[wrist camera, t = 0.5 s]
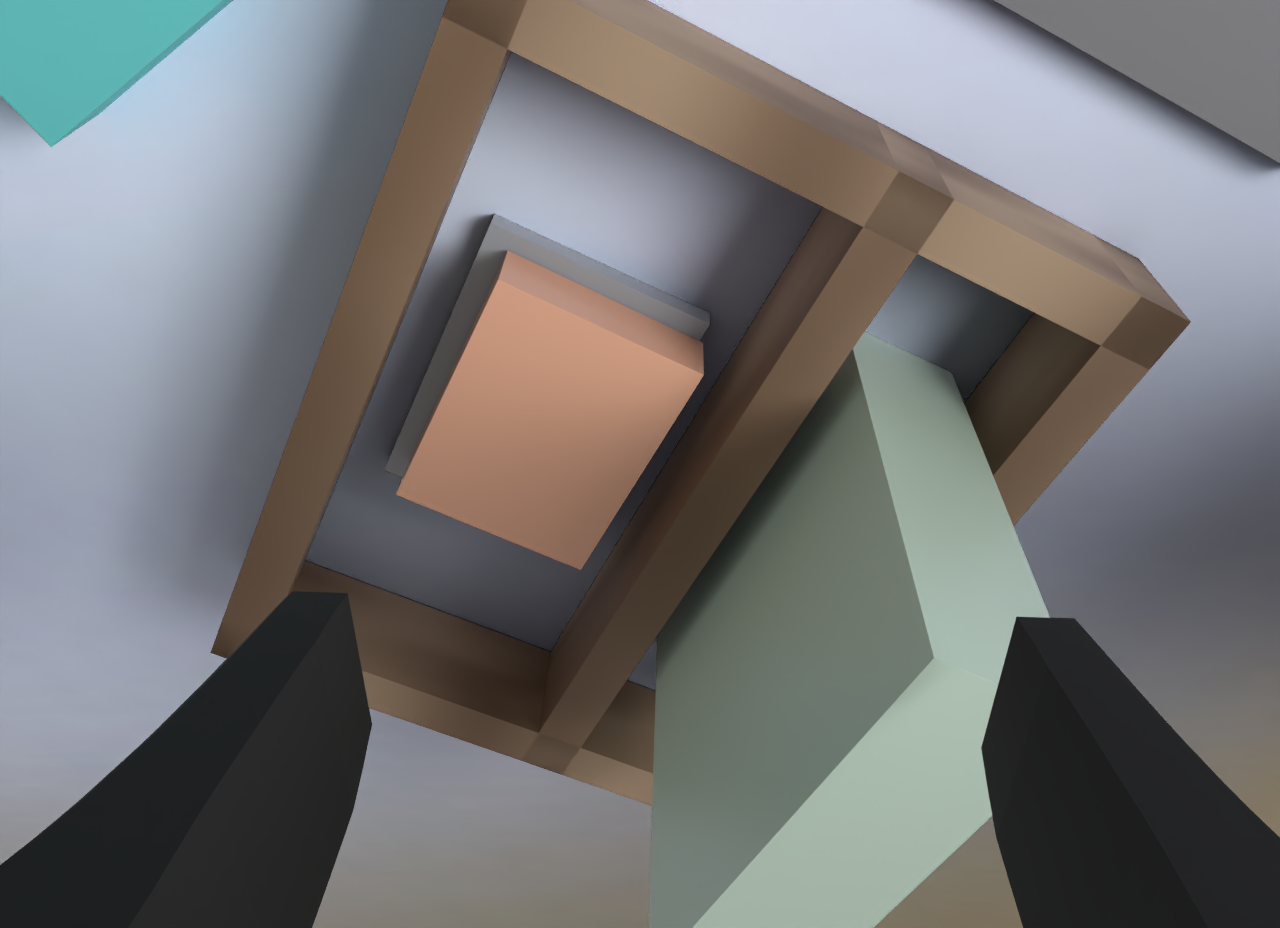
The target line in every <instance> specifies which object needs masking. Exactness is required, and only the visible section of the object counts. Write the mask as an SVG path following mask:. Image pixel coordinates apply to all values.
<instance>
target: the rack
mask: <svg viewBox="0 0 1280 928" xmlns="http://www.w3.org/2000/svg"><path fill="white" fill-rule="evenodd" d="M511 51H512V52H514V53H516V54H518V55H520V56H522V57H524V58H526V59H528V60H530V61H532V62H534V63H536V64H538V65H540V66H542V67H544V68H546V69H548V70H550V71H552V72H554V73H556V74H558V75H560V76H562V77H564V78H566V79H568V80H570V81H572V82H574V83H576V84H578V85H580V86H582V87H584V88H586V89H588V90H590V91H592V92H594V93H596V94H598V95H600V96H602V97H604V98H606V99H608V100H610V101H612V102H614V103H616V104H618V105H620V106H622V107H624V108H626V109H628V110H630V111H632V112H634V113H636V114H638V115H640V116H642V117H644V118H646V119H648V120H650V121H652V122H654V123H656V124H658V125H660V126H662V127H664V128H666V129H668V130H670V131H672V132H674V133H676V134H678V135H680V136H682V137H684V138H686V139H688V140H690V141H692V142H694V143H696V144H698V145H700V146H702V147H704V148H706V149H708V150H710V151H712V152H714V153H716V154H718V155H720V156H722V157H724V158H726V159H728V160H730V161H732V162H734V163H736V164H738V165H740V166H742V167H744V168H746V169H748V170H750V171H752V172H754V173H756V174H758V175H760V176H762V177H764V178H766V179H768V180H770V181H772V182H774V183H776V184H778V185H780V186H782V187H784V188H786V189H788V190H790V191H792V192H794V193H796V194H798V195H800V196H802V197H804V198H806V199H808V200H810V201H812V202H814V203H816V204H818V205H820V206H822V209H821V211H820V212H819V214H818V216H817V217H816V219H815V220H814V222H813V224H812V225H811V227H810V229H809V230H808V232H807V234H806V235H805V237H804V238H803V240H802V242H801V243H800V245H799V247H798V248H797V250H796V252H795V253H794V255H793V256H792V258H791V260H790V261H789V263H788V265H787V266H786V268H785V269H784V271H783V273H782V274H781V276H780V278H779V279H778V281H777V283H776V284H775V286H774V287H773V289H772V291H771V292H770V294H769V296H768V297H767V299H766V301H765V302H764V304H763V305H762V307H761V309H760V310H759V312H758V314H757V315H756V317H755V319H754V320H753V322H752V323H751V325H750V327H749V328H748V330H747V332H746V333H745V335H744V336H743V338H742V340H741V341H740V343H739V345H738V346H737V348H736V350H735V351H734V353H733V354H732V356H731V358H730V359H729V361H728V363H727V364H726V366H725V368H724V369H723V371H722V372H721V374H720V376H719V377H718V379H717V381H716V382H715V384H714V386H713V387H712V389H711V390H710V392H709V394H708V395H707V397H706V399H705V400H704V402H703V403H702V405H701V407H700V408H699V410H698V412H697V413H696V415H695V417H694V418H693V420H692V421H691V423H690V425H689V426H688V428H687V430H686V431H685V433H684V435H683V436H682V438H681V439H680V441H679V443H678V444H677V446H676V448H675V449H674V451H673V453H672V454H671V456H670V457H669V459H668V461H667V462H666V464H665V466H664V467H663V469H662V470H661V472H660V474H659V475H658V477H657V479H656V480H655V482H654V484H653V485H652V487H651V488H650V490H649V492H648V493H647V495H646V497H645V498H644V500H643V502H642V503H641V505H640V506H639V508H638V510H637V511H636V513H635V515H634V516H633V518H632V520H631V521H630V523H629V524H628V526H627V528H626V529H625V531H624V533H623V534H622V536H621V537H620V539H619V541H618V542H617V544H616V546H615V547H614V549H613V551H612V552H611V554H610V555H609V557H608V559H607V560H606V562H605V564H604V565H603V567H602V569H601V570H600V572H599V573H598V575H597V577H596V578H595V580H594V582H593V583H592V585H591V587H590V588H589V590H588V591H587V593H586V595H585V596H584V598H583V600H582V601H581V603H580V604H579V606H578V608H577V609H576V611H575V613H574V614H573V616H572V618H571V619H570V621H569V622H568V624H567V626H566V627H565V629H564V631H563V632H562V634H561V636H560V637H559V639H558V640H557V642H556V644H555V645H554V647H553V649H552V650H551V652H549V651H546V650H543V649H541V648H538V647H535V646H533V645H530V644H527V643H525V642H522V641H519V640H517V639H514V638H511V637H509V636H506V635H503V634H500V633H498V632H495V631H492V630H490V629H487V628H484V627H482V626H479V625H476V624H474V623H471V622H468V621H466V620H463V619H460V618H457V617H455V616H452V615H449V614H447V613H444V612H441V611H439V610H436V609H433V608H431V607H428V606H425V605H423V604H420V603H417V602H415V601H412V600H409V599H406V598H404V597H401V596H398V595H396V594H393V593H390V592H388V591H385V590H382V589H380V588H377V587H374V586H372V585H369V584H366V583H364V582H361V581H358V580H355V579H353V578H350V577H347V576H345V575H342V574H339V573H337V572H334V571H331V570H329V569H326V568H323V567H321V566H318V565H315V564H313V563H310V562H307V561H305V559H306V557H307V554H308V552H309V549H310V547H311V544H312V542H313V539H314V537H315V534H316V532H317V529H318V527H319V524H320V522H321V520H322V517H323V515H324V512H325V510H326V507H327V505H328V502H329V500H330V497H331V495H332V492H333V490H334V487H335V485H336V483H337V480H338V478H339V475H340V473H341V470H342V468H343V465H344V463H345V460H346V458H347V455H348V453H349V451H350V448H351V446H352V443H353V441H354V438H355V436H356V433H357V431H358V428H359V426H360V423H361V421H362V418H363V416H364V414H365V411H366V409H367V406H368V404H369V401H370V399H371V396H372V394H373V391H374V389H375V386H376V384H377V381H378V379H379V377H380V374H381V372H382V369H383V367H384V364H385V362H386V359H387V357H388V354H389V352H390V349H391V347H392V345H393V342H394V340H395V337H396V335H397V332H398V330H399V327H400V325H401V322H402V320H403V317H404V315H405V312H406V310H407V308H408V305H409V303H410V300H411V298H412V295H413V293H414V290H415V288H416V285H417V283H418V280H419V278H420V275H421V273H422V271H423V268H424V266H425V263H426V261H427V258H428V256H429V253H430V251H431V248H432V246H433V243H434V241H435V238H436V236H437V234H438V231H439V229H440V226H441V224H442V221H443V219H444V216H445V214H446V211H447V209H448V206H449V204H450V202H451V199H452V197H453V194H454V192H455V189H456V187H457V184H458V182H459V179H460V177H461V174H462V172H463V169H464V167H465V165H466V162H467V160H468V157H469V155H470V152H471V150H472V147H473V145H474V142H475V140H476V137H477V135H478V132H479V130H480V128H481V125H482V123H483V120H484V118H485V115H486V113H487V110H488V108H489V105H490V103H491V100H492V98H493V96H494V93H495V91H496V88H497V86H498V83H499V81H500V78H501V76H502V73H503V71H504V68H505V66H506V63H507V61H508V59H509V56H510V54H511ZM917 254H918V255H920V256H922V257H924V258H926V259H928V260H930V261H932V262H934V263H936V264H938V265H940V266H942V267H944V268H946V269H948V270H950V271H952V272H954V273H956V274H958V275H960V276H962V277H964V278H966V279H968V280H970V281H972V282H974V283H976V284H978V285H980V286H982V287H984V288H986V289H988V290H990V291H992V292H994V293H996V294H998V295H1000V296H1002V297H1004V298H1006V299H1008V300H1010V301H1012V302H1014V303H1016V304H1018V305H1020V306H1022V307H1024V308H1026V309H1028V310H1030V311H1032V312H1034V314H1033V315H1032V316H1031V318H1030V319H1029V320H1028V322H1027V323H1026V324H1025V326H1024V327H1023V328H1022V329H1021V331H1020V332H1019V333H1018V335H1017V336H1016V337H1015V338H1014V340H1013V341H1012V342H1011V344H1010V345H1009V346H1008V348H1007V349H1006V350H1005V351H1004V353H1003V354H1002V355H1001V357H1000V358H999V359H998V360H997V362H996V363H995V364H994V366H993V367H992V368H991V369H990V371H989V372H988V373H987V375H986V376H985V377H984V379H983V380H982V381H981V382H980V384H979V385H978V386H977V388H976V389H975V390H974V391H973V393H972V394H971V395H970V397H969V398H968V399H967V401H966V402H965V403H964V405H965V407H966V410H967V412H968V415H969V417H970V420H971V422H972V425H973V427H974V430H975V432H976V435H977V437H978V440H979V442H980V444H981V447H982V449H983V452H984V454H985V457H986V459H987V462H988V464H989V467H990V469H991V472H992V474H993V477H994V479H995V482H996V484H997V487H998V489H999V492H1000V494H1001V497H1002V499H1003V502H1004V504H1005V507H1006V509H1007V512H1008V514H1009V517H1010V519H1011V522H1012V524H1013V526H1014V525H1015V524H1016V522H1017V521H1018V520H1019V519H1020V518H1021V517H1022V515H1023V514H1024V513H1025V512H1026V511H1027V510H1028V509H1029V507H1030V506H1031V505H1032V504H1033V503H1034V502H1035V501H1036V499H1037V498H1038V497H1039V496H1040V495H1041V494H1042V492H1043V491H1044V490H1045V489H1046V488H1047V487H1048V486H1049V484H1050V483H1051V482H1052V481H1053V480H1054V479H1055V478H1056V476H1057V475H1058V474H1059V473H1060V472H1061V471H1062V469H1063V468H1064V467H1065V466H1066V465H1067V464H1068V463H1069V461H1070V460H1071V459H1072V458H1073V457H1074V456H1075V455H1076V453H1077V452H1078V451H1079V450H1080V449H1081V448H1082V446H1083V445H1084V444H1085V443H1086V442H1087V441H1088V440H1089V438H1090V437H1091V436H1092V435H1093V434H1094V433H1095V432H1096V430H1097V429H1098V428H1099V427H1100V426H1101V425H1102V423H1103V422H1104V421H1105V420H1106V419H1107V418H1108V417H1109V415H1110V414H1111V413H1112V412H1113V411H1114V410H1115V409H1116V407H1117V406H1118V405H1119V404H1120V403H1121V402H1122V401H1123V399H1124V398H1125V397H1126V396H1127V395H1128V394H1129V392H1130V391H1131V390H1132V389H1133V388H1134V387H1135V386H1136V384H1137V383H1138V382H1139V381H1140V380H1141V379H1142V378H1143V376H1144V375H1145V374H1146V373H1147V372H1148V371H1149V369H1150V368H1151V367H1152V366H1153V365H1154V364H1155V363H1156V361H1157V360H1158V359H1159V358H1160V357H1161V356H1162V355H1163V353H1164V352H1165V351H1166V350H1167V349H1168V348H1169V346H1170V345H1171V344H1172V343H1173V342H1174V341H1175V340H1176V338H1177V337H1178V336H1179V335H1180V334H1181V333H1182V332H1183V330H1184V329H1185V328H1186V327H1187V326H1188V325H1189V323H1190V322H1191V321H1190V320H1189V319H1188V318H1187V317H1186V315H1185V314H1184V313H1183V312H1182V311H1181V309H1180V308H1179V307H1178V306H1177V305H1176V303H1175V302H1174V301H1173V300H1172V299H1171V297H1170V296H1169V295H1168V294H1167V292H1166V291H1165V290H1164V289H1163V288H1162V286H1161V285H1160V284H1159V283H1158V282H1157V280H1156V279H1155V278H1154V277H1153V276H1152V274H1151V273H1150V272H1149V271H1148V270H1147V268H1146V267H1145V266H1144V265H1143V263H1142V262H1141V261H1140V260H1139V259H1138V258H1136V257H1134V256H1132V255H1130V254H1128V253H1127V252H1125V251H1123V250H1121V249H1119V248H1117V247H1115V246H1113V245H1111V244H1109V243H1108V242H1106V241H1104V240H1102V239H1100V238H1098V237H1096V236H1094V235H1092V234H1090V233H1089V232H1087V231H1085V230H1083V229H1081V228H1079V227H1077V226H1075V225H1073V224H1071V223H1070V222H1068V221H1066V220H1064V219H1062V218H1060V217H1058V216H1056V215H1054V214H1052V213H1051V212H1049V211H1047V210H1045V209H1043V208H1041V207H1039V206H1037V205H1035V204H1033V203H1031V202H1030V201H1028V200H1026V199H1024V198H1022V197H1020V196H1018V195H1016V194H1014V193H1012V192H1011V191H1009V190H1007V189H1005V188H1003V187H1001V186H999V185H997V184H995V183H993V182H992V181H990V180H988V179H986V178H984V177H982V176H980V175H978V174H976V173H974V172H973V171H971V170H969V169H967V168H965V167H963V166H961V165H959V164H957V163H955V162H954V161H952V160H950V159H948V158H946V157H944V156H942V155H940V154H938V153H936V152H935V151H933V150H931V149H929V148H927V147H925V146H923V145H921V144H919V143H917V142H916V141H914V140H912V139H910V138H908V137H906V136H904V135H902V134H900V133H898V132H897V131H895V130H893V129H891V128H889V127H887V126H885V125H883V124H881V123H879V122H878V121H876V120H874V119H872V118H870V117H868V116H866V115H864V114H862V113H860V112H859V111H857V110H855V109H853V108H851V107H849V106H847V105H845V104H843V103H841V102H839V101H838V100H836V99H834V98H832V97H830V96H828V95H826V94H824V93H822V92H820V91H819V90H817V89H815V88H813V87H811V86H809V85H807V84H805V83H803V82H801V81H800V80H798V79H796V78H794V77H792V76H790V75H788V74H786V73H784V72H782V71H781V70H779V69H777V68H775V67H773V66H771V65H769V64H767V63H765V62H763V61H762V60H760V59H758V58H756V57H754V56H752V55H750V54H748V53H746V52H744V51H743V50H741V49H739V48H737V47H735V46H733V45H731V44H729V43H727V42H725V41H724V40H722V39H720V38H718V37H716V36H714V35H712V34H710V33H708V32H706V31H705V30H703V29H701V28H699V27H697V26H695V25H693V24H691V23H689V22H687V21H686V20H684V19H682V18H680V17H678V16H676V15H674V14H672V13H670V12H668V11H667V10H665V9H663V8H661V7H659V6H657V5H655V4H653V3H651V2H649V1H647V0H448V2H447V5H446V8H445V10H444V13H443V16H442V19H441V21H440V24H439V27H438V30H437V32H436V35H435V38H434V41H433V43H432V46H431V49H430V52H429V54H428V57H427V60H426V63H425V65H424V68H423V71H422V74H421V76H420V79H419V82H418V85H417V87H416V90H415V93H414V96H413V98H412V101H411V104H410V107H409V109H408V112H407V115H406V118H405V120H404V123H403V126H402V129H401V131H400V134H399V137H398V140H397V142H396V145H395V148H394V151H393V153H392V156H391V159H390V162H389V164H388V167H387V170H386V173H385V175H384V178H383V181H382V183H381V186H380V189H379V192H378V194H377V197H376V200H375V203H374V205H373V208H372V211H371V214H370V216H369V219H368V222H367V225H366V227H365V230H364V233H363V236H362V238H361V241H360V244H359V247H358V249H357V252H356V255H355V258H354V260H353V263H352V266H351V269H350V271H349V274H348V277H347V280H346V282H345V285H344V288H343V291H342V293H341V296H340V299H339V302H338V304H337V307H336V310H335V313H334V315H333V318H332V321H331V324H330V326H329V329H328V332H327V335H326V337H325V340H324V343H323V346H322V348H321V351H320V354H319V357H318V359H317V362H316V365H315V367H314V370H313V373H312V376H311V378H310V381H309V384H308V387H307V389H306V392H305V395H304V398H303V400H302V403H301V406H300V409H299V411H298V414H297V417H296V420H295V422H294V425H293V428H292V431H291V433H290V436H289V439H288V442H287V444H286V447H285V450H284V453H283V455H282V458H281V461H280V464H279V466H278V469H277V472H276V475H275V477H274V480H273V483H272V486H271V488H270V491H269V494H268V497H267V499H266V502H265V505H264V508H263V510H262V513H261V516H260V519H259V521H258V524H257V527H256V530H255V532H254V535H253V538H252V541H251V543H250V546H249V549H248V551H247V554H246V557H245V560H244V562H243V565H242V568H241V571H240V573H239V576H238V579H237V582H236V584H235V587H234V590H233V593H232V595H231V598H230V601H229V604H228V606H227V609H226V612H225V615H224V617H223V620H222V623H221V626H220V628H219V631H218V634H217V637H216V639H215V642H214V645H213V648H212V650H211V653H212V654H215V655H218V656H221V657H224V658H228V657H229V656H230V655H231V654H232V653H233V652H234V651H235V650H236V649H237V648H238V647H239V646H240V644H241V643H242V642H243V641H244V640H245V639H246V638H247V637H248V636H249V635H250V634H251V633H252V632H253V631H254V630H255V629H256V628H257V627H258V625H259V624H260V623H261V622H262V621H263V620H264V619H265V618H266V617H267V616H268V615H269V614H270V613H271V612H272V611H273V610H274V609H275V608H276V607H277V606H278V605H279V604H280V603H281V602H282V600H283V599H284V598H286V597H287V596H288V595H289V594H290V593H291V592H292V591H301V592H329V593H348V597H349V603H350V608H351V613H352V619H353V624H354V630H355V635H356V641H357V646H358V652H359V657H360V662H361V668H362V673H363V679H364V684H365V690H366V695H367V701H368V706H369V708H371V709H374V710H377V711H380V712H383V713H386V714H388V715H391V716H394V717H397V718H400V719H403V720H406V721H409V722H412V723H414V724H417V725H420V726H423V727H426V728H429V729H432V730H435V731H437V732H440V733H443V734H446V735H449V736H452V737H455V738H458V739H461V740H463V741H466V742H469V743H472V744H475V745H478V746H481V747H484V748H487V749H489V750H492V751H495V752H498V753H501V754H504V755H507V756H510V757H513V758H515V759H518V760H521V761H524V762H527V763H530V764H533V765H536V766H538V767H541V768H544V769H547V770H550V771H553V772H556V773H559V774H562V775H564V776H567V777H570V778H573V779H576V780H579V781H582V782H585V783H588V784H590V785H593V786H596V787H599V788H602V789H605V790H608V791H611V792H613V793H616V794H619V795H622V796H625V797H628V798H631V799H634V800H637V801H639V802H642V803H645V804H648V805H651V806H652V798H653V765H654V731H655V698H656V691H653V690H651V689H648V688H645V687H643V686H640V685H637V684H635V683H632V682H629V681H627V679H628V678H629V676H630V675H631V673H632V672H633V670H634V669H635V667H636V666H637V664H638V663H639V661H640V660H641V659H642V657H643V656H644V654H645V653H646V651H647V650H648V648H649V647H650V645H651V644H652V642H653V641H654V639H655V638H656V637H657V635H658V634H659V632H660V631H661V629H662V628H663V626H664V625H665V623H666V622H667V620H668V619H669V617H670V616H671V615H672V613H673V612H674V610H675V609H676V607H677V606H678V604H679V603H680V601H681V600H682V598H683V597H684V595H685V594H686V593H687V591H688V590H689V588H690V587H691V585H692V584H693V582H694V581H695V579H696V578H697V576H698V575H699V573H700V572H701V571H702V569H703V568H704V566H705V565H706V563H707V562H708V560H709V559H710V557H711V556H712V554H713V553H714V551H715V550H716V548H717V547H718V546H719V544H720V543H721V541H722V540H723V538H724V537H725V535H726V534H727V532H728V531H729V529H730V528H731V526H732V525H733V524H734V522H735V521H736V519H737V518H738V516H739V515H740V513H741V512H742V510H743V509H744V507H745V506H746V504H747V503H748V502H749V500H750V499H751V497H752V496H753V494H754V493H755V491H756V490H757V488H758V487H759V485H760V484H761V482H762V481H763V480H764V478H765V477H766V475H767V474H768V472H769V471H770V469H771V468H772V466H773V465H774V463H775V462H776V460H777V459H778V458H779V456H780V455H781V453H782V452H783V450H784V449H785V447H786V446H787V444H788V443H789V441H790V440H791V438H792V437H793V436H794V434H795V433H796V431H797V430H798V428H799V427H800V425H801V424H802V422H803V421H804V419H805V418H806V416H807V415H808V414H809V412H810V411H811V409H812V408H813V406H814V405H815V403H816V402H817V400H818V399H819V397H820V396H821V394H822V393H823V392H824V390H825V389H826V387H827V386H828V384H829V383H830V381H831V380H832V378H833V377H834V375H835V374H836V372H837V371H838V370H839V368H840V367H841V365H842V364H843V362H844V361H845V359H846V358H847V356H848V355H849V353H850V352H851V350H852V349H853V348H854V346H855V345H856V343H857V342H858V340H859V339H860V337H861V336H862V334H863V333H864V331H865V330H866V328H867V327H868V326H869V324H870V323H871V321H872V320H873V318H874V317H875V315H876V314H877V312H878V311H879V309H880V308H881V306H882V305H883V304H884V302H885V301H886V299H887V298H888V296H889V295H890V293H891V292H892V290H893V289H894V287H895V286H896V284H897V283H898V282H899V280H900V279H901V277H902V276H903V274H904V273H905V271H906V270H907V268H908V267H909V265H910V264H911V262H912V261H913V259H914V258H915V257H916V255H917Z"/></svg>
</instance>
